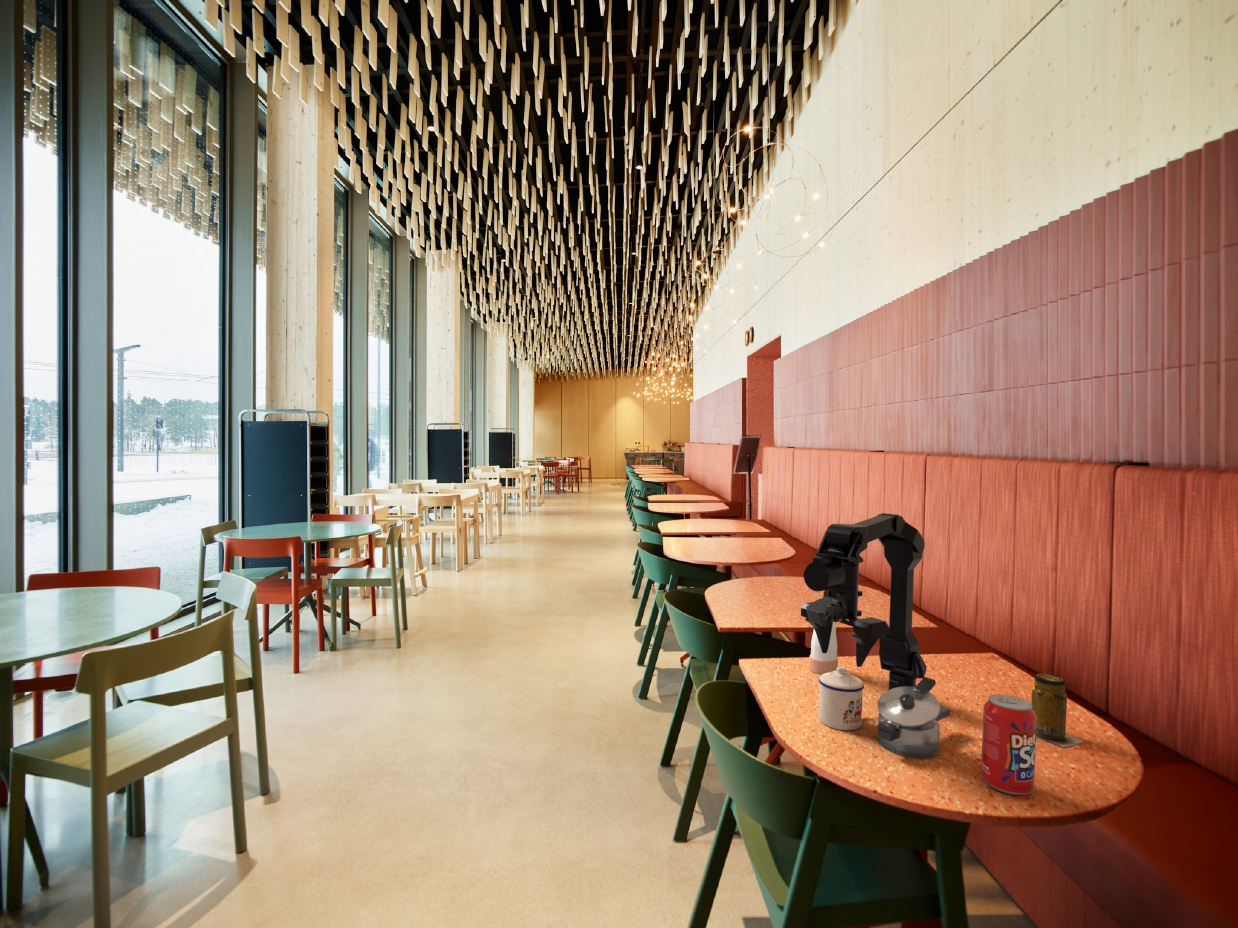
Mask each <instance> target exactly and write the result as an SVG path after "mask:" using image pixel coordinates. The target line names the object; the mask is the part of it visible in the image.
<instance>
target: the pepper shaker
mask: <svg viewBox="0 0 1238 928" xmlns="http://www.w3.org/2000/svg"><path fill="white" fill-rule="evenodd" d="M836 623H837V622H833V625H832V631H831V637H830V643H829V647H828V651H827V653H822V651H821V647H820V644H819V641H818V638H817V635H816V632H815V630H814V629H813V633H812V636H811V641H810V648H811V649H810V655H809V656H808V657H809V660H808V661H809V662H808V663H809V664H808V669H809V671H810V672H812V673H814V674H818V675H822V674H824V673H829V672H832V671H837V667H839V658H838V657H837V655H838V640H837V633H836V632H837V631H836V629H837V628H836V627H837V626H836V625H837V624H836Z"/></svg>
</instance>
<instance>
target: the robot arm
mask: <svg viewBox="0 0 1238 928" xmlns="http://www.w3.org/2000/svg"><path fill="white" fill-rule="evenodd" d="M875 540H878V541H879V542H880V544H881V545H882V546H883V556H884V558H885V559H886V562H887V563H888V565H889V567H890V591H889V592H890V594H889V615H888V616H889V617H888V619H889V620H888V623H887V621H886V620H883V619H880V618H876V617H873V616H871V617H870V616H869V617H864V618H858V617H862V613H863V612H862V610H859V609H858V608H859V607H858V605H859V604H858V601H859V597H863V591H862V590H859V577H860V576H859V573H860V572H859V571H860V564H862V563H863V562H864V561H865V560H864V558H863V557H862V556H861V555H860V554H861V553H863V552H864V551H866V550H867V549H868V544H869V543H871V542H873V541H875ZM925 545H926V543H925V539H924V537H923V535H922V534H921V533H920V531H919V530H918V529H917V528H916V527H914V526H913V525H912V524H909V523H908V522H907V521H906V520H905V518H904V517H903V516H902V515H900V514H897V513H896V514H894V513H884V512H883V513H879V514H877V515H876V516H873V517H870V518H868V519H864V520H862V521H859V522H856V523H831V524H830V525H829V526H828V527H827V529H826V530H825V532H824V534H823V536H822V539H821V541H820V543H819V546H818V548H817V550H816V553H815V556H813V557H812V562H810V563H809V564H807V565H806V567H804V568H805V569H804V571H803V574H802V575H803V581H804V583H805V585H806V586H807V588H808V589H810V590H811V591H813V592H823V595H822V597H821V598H818V599H817V600H815V601H809V602H804V603H803V604H802V605H801V607H800V616H801V617H802V618H804V620H805V621H806V622H808V623H809V624H810V625H811V627H813V631H814V630H815V632H816V635H817V638H818V641H819V644H820V647H821V651H822V653H827V651H828V647H829V643H830V637H831V631H832V625H833V622H836V623H839V624H843V625H847V626H849V627H852V630H853V632H854V634H852V635H851V636H852V638H853V639H854V642H855V644H856V645H855V663H856V667H857V668H861V667H862V666H863V664H864V663H865V661H866V659H867V658H868V656H869V654H870V652H871V650H872V648H873V647H874V646H875V645H876V643H877V642H878V641H879V649H878V657H879V663H880V669H881V670H885V671H888V689H887V691H888V690H890V689H893V688H897V687H906V686H908V687H915V686H916V685H917V680H918V679H921V680H922V679H923V678H924V677H926V674H927V669H928V668H927V667H928V666H927V664H926V662H925V661H924V658H923V657H922V656H921V654H920V644H919V640H917V638H916V636H915V634H914V632H913V606H914V605H913V604H914V603H913V602H914V582H915V581H914V580H915V579H914V578H915V576H914V575H915V568H916V567H917V566H918V564H920V562H921V560H922V559H923V552H924V550H925Z"/></svg>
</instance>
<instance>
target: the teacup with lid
mask: <svg viewBox="0 0 1238 928" xmlns="http://www.w3.org/2000/svg"><path fill="white" fill-rule="evenodd" d="M847 670H848V669H847V668H846V667H844V666H838V667H837V671H832V672H829V673H824V674H820V675H819V678H818V683H819V696H818V720H819V721H820V722H821V724H823V725H825V726H826V727H829V728H832V729H835V730H838V731H839V730H840V731H855V730H858V729H860V727H862V717H863V693H864V692H863V689H864V688H865V685H864V682H863V681H862V679H861V678H859V677H857V676H855V675H853V674H851V673H850V672H847Z"/></svg>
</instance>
